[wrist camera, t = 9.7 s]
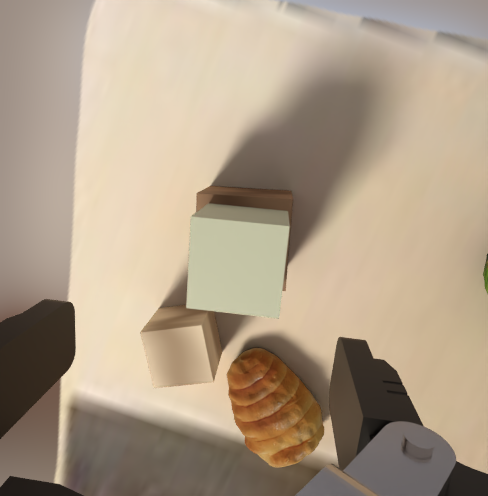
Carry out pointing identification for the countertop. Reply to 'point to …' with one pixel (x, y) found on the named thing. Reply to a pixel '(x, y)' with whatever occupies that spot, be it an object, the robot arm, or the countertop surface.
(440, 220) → the countertop surface
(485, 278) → the vegetable
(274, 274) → the sage cube
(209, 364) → the birch block
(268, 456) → the pastry
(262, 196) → the walnut block
